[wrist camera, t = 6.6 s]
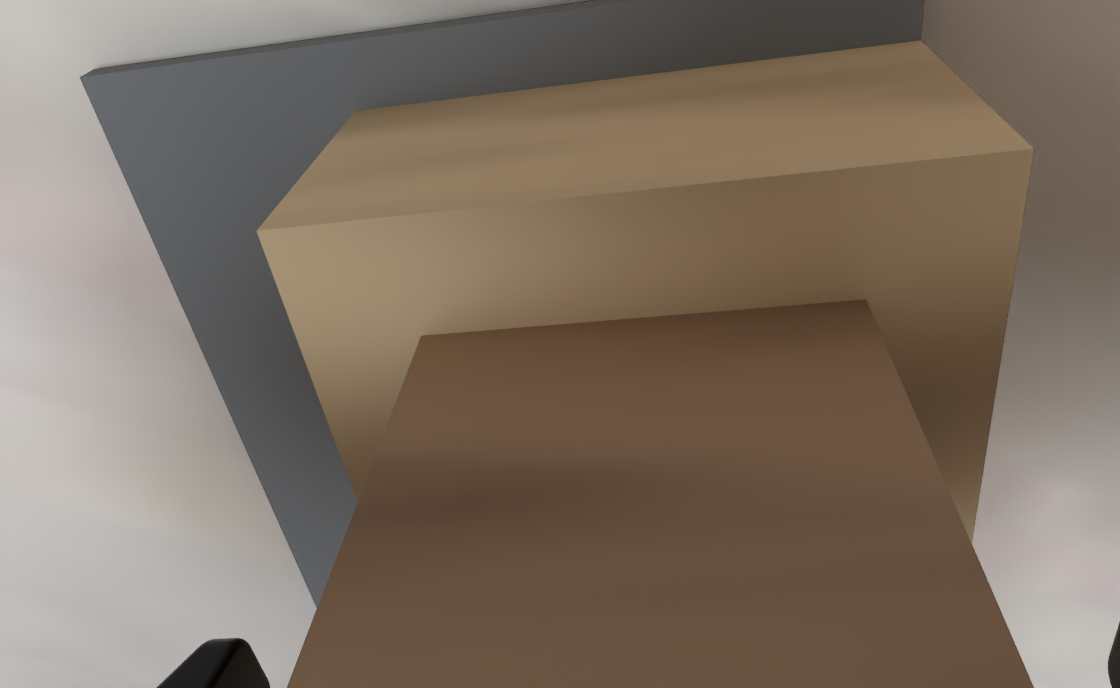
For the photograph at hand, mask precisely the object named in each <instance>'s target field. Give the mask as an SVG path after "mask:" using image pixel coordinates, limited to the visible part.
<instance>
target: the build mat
mask: <svg viewBox="0 0 1120 688" xmlns="http://www.w3.org/2000/svg"><path fill="white" fill-rule="evenodd" d="M923 7H924V0H593V1H586V2H579V3H572V4H564V5H557V6H550V7H543V8H535V9H528V10H521V11H514V12H507V13H499V14H492V15H485V16H478V17H470V18H463V19H456V20H449V21H441V22H434V23H427V24H420V25H412V26H405V27H398V28H391V29H383V30H376V31H369V32H362V33H354V34H347V35H340V36H333V37H325V38H318V39H311V40H304V41H296V42H289V43H282V44H275V45H268V46H260V47H253V48H246V49H239V50H231V51H224V52H217V53H210V54H202V55H195V56H188V57H181V58H173V59H166V60H159V61H152V62H144V63H137V64H130V65H123V66H115V67H108V68H101V69H94V70H92V71H90V72H88V73H87V74H85V75H83V76H81V77H80V79H81V81H82V83H83V86H84V88H85V90H86V92H87V95H88V97H89V99H90V101H91V104H92V106H93V108H94V110H95V112H96V115H97V117H98V119H99V121H100V124H101V126H102V128H103V130H104V133H105V135H106V137H107V139H108V142H109V144H110V146H111V148H112V151H113V153H114V155H115V157H116V160H117V162H118V164H119V166H120V168H121V171H122V173H123V175H124V177H125V180H126V182H127V184H128V186H129V189H130V191H131V193H132V195H133V198H134V200H135V202H136V204H137V207H138V209H139V211H140V213H141V215H142V218H143V220H144V222H145V224H146V227H147V229H148V231H149V233H150V236H151V238H152V240H153V242H154V245H155V247H156V249H157V251H158V254H159V256H160V258H161V260H162V262H163V265H164V267H165V269H166V271H167V274H168V276H169V278H170V280H171V283H172V285H173V287H174V289H175V292H176V294H177V296H178V298H179V301H180V303H181V305H182V307H183V309H184V312H185V314H186V316H187V318H188V321H189V323H190V325H191V327H192V330H193V332H194V334H195V336H196V339H197V341H198V343H199V345H200V348H201V350H202V352H203V354H204V356H205V359H206V361H207V363H208V365H209V368H210V370H211V372H212V374H213V377H214V379H215V381H216V383H217V386H218V388H219V390H220V392H221V395H222V397H223V399H224V401H225V403H226V406H227V408H228V410H229V412H230V415H231V417H232V419H233V421H234V424H235V426H236V428H237V430H238V433H239V435H240V437H241V439H242V442H243V444H244V446H245V448H246V451H247V453H248V455H249V457H250V459H251V462H252V464H253V466H254V468H255V471H256V473H257V475H258V477H259V480H260V482H261V484H262V486H263V489H264V491H265V493H266V495H267V498H268V500H269V502H270V504H271V506H272V509H273V511H274V513H275V515H276V518H277V520H278V522H279V524H280V527H281V529H282V531H283V533H284V536H285V538H286V540H287V542H288V545H289V547H290V549H291V551H292V553H293V556H294V558H295V560H296V562H297V565H298V567H299V569H300V571H301V574H302V576H303V578H304V580H305V583H306V585H307V587H308V589H309V592H310V594H311V596H312V598H313V600H314V603H315V605H316V607H317V608H318V605H319V602H320V600H321V597H322V594H323V592H324V589H325V587H326V584H327V581H328V579H329V576H330V573H331V571H332V568H333V566H334V563H335V560H336V558H337V555H338V552H339V550H340V547H341V545H342V542H343V539H344V537H345V534H346V531H347V529H348V526H349V524H350V521H351V518H352V516H353V513H354V510H355V508H356V505H357V500H356V497H355V495H354V492H353V489H352V487H351V484H350V481H349V479H348V476H347V473H346V470H345V468H344V465H343V462H342V460H341V457H340V454H339V452H338V449H337V446H336V444H335V441H334V438H333V436H332V433H331V430H330V427H329V425H328V422H327V419H326V417H325V414H324V411H323V409H322V406H321V403H320V401H319V398H318V395H317V392H316V390H315V387H314V384H313V382H312V379H311V376H310V374H309V371H308V368H307V366H306V363H305V360H304V358H303V355H302V352H301V349H300V347H299V344H298V341H297V339H296V336H295V333H294V331H293V328H292V325H291V323H290V320H289V317H288V314H287V312H286V309H285V306H284V304H283V301H282V298H281V296H280V293H279V290H278V288H277V285H276V282H275V280H274V277H273V274H272V271H271V269H270V266H269V263H268V261H267V258H266V255H265V253H264V250H263V247H262V245H261V242H260V239H259V236H258V234H257V230H258V228H259V227H260V226H261V225H262V224H263V222H264V221H265V220H266V219H267V218H268V216H269V215H270V214H271V213H272V211H273V210H274V209H275V208H276V207H277V205H278V204H279V203H280V202H281V201H282V199H283V198H284V197H285V196H286V194H287V193H288V192H289V191H290V190H291V188H292V187H293V186H294V185H295V184H296V182H297V181H298V180H299V179H300V177H301V176H302V175H303V174H304V173H305V171H306V170H307V169H308V168H309V167H310V165H311V164H312V163H313V162H314V160H315V159H316V158H317V157H318V156H319V154H320V153H321V152H322V151H323V150H324V148H325V147H326V146H327V145H328V144H329V142H330V141H331V140H332V139H333V137H334V136H335V135H336V134H337V133H338V131H339V130H340V129H341V128H342V127H343V125H344V124H345V123H346V122H347V120H348V119H349V118H350V117H351V116H352V114H353V113H354V112H355V111H359V110H367V109H375V108H383V107H391V106H399V105H407V104H415V103H423V102H431V101H439V100H447V99H455V98H463V97H471V96H479V95H487V94H495V93H503V92H511V91H519V90H527V89H535V88H543V87H551V86H559V85H567V84H576V83H584V82H592V81H600V80H608V79H616V78H624V77H632V76H640V75H648V74H656V73H664V72H672V71H680V70H688V69H696V68H704V67H712V66H720V65H728V64H736V63H744V62H752V61H760V60H768V59H776V58H784V57H792V56H800V55H808V54H816V53H824V52H832V51H840V50H848V49H856V48H864V47H872V46H880V45H888V44H896V43H904V42H912V41H920V40H921V32H922V20H923Z"/></svg>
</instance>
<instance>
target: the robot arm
mask: <svg viewBox="0 0 1120 688" xmlns="http://www.w3.org/2000/svg"><path fill="white" fill-rule="evenodd" d="M1108 673H1109V678H1110V683H1111V686H1112V688H1120V623H1119V626H1118V629H1117V632H1116V636H1115V639H1114V642H1113V645H1112V649H1111V652H1110V655H1109V660H1108ZM157 688H270V685H269V681H268V679H267V677H266V675H265V673H264V672H263V670H262V668H261V666H260V664H259V662H258V660H257V658H256V656H255V654H254V653H253V651H252V649H251V647H250V645H249V644H248V642H246V641H245V640H243V639H240V638H230V639H213V640H209V641H207V642H205V643H204V644H202V645H201V646H200V647H198V648H197V649H196V650H195V651H194V652H193V653H192V654H191V655H190V656H189V657H188V658H187V659H186V660H185V661H184V662H183V663H182V664H181V665H180V666H179V667H178V668H177V669H176V670H174V671H173V672H172V673H171V674H170V675H169V676H168V677H167V678H166V679H165V680H164V681H163V682H162V683H161V684H160V685H159V686H158V687H157Z"/></svg>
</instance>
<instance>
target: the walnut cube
mask: <svg viewBox="0 0 1120 688" xmlns="http://www.w3.org/2000/svg"><path fill="white" fill-rule="evenodd" d="M287 688H1034V687H1033V685H1032V682H1031V680H1030V678H1029V675H1028V673H1027V671H1026V668H1025V666H1024V664H1023V661H1022V659H1021V657H1020V655H1019V652H1018V650H1017V648H1016V645H1015V643H1014V641H1013V638H1012V636H1011V634H1010V631H1009V629H1008V627H1007V624H1006V622H1005V620H1004V618H1003V615H1002V613H1001V611H1000V608H999V606H998V604H997V601H996V599H995V597H994V594H993V592H992V590H991V587H990V585H989V583H988V581H987V578H986V576H985V574H984V571H983V569H982V567H981V564H980V562H979V560H978V557H977V555H976V553H975V550H974V548H973V546H972V544H971V541H970V539H969V537H968V534H967V532H966V530H965V527H964V525H963V523H962V520H961V518H960V516H959V513H958V511H957V509H956V507H955V504H954V502H953V500H952V497H951V495H950V493H949V490H948V488H947V486H946V483H945V481H944V479H943V476H942V474H941V472H940V470H939V467H938V465H937V463H936V460H935V458H934V456H933V453H932V451H931V449H930V446H929V444H928V442H927V439H926V437H925V435H924V433H923V430H922V428H921V426H920V423H919V421H918V419H917V416H916V414H915V412H914V409H913V407H912V405H911V402H910V400H909V398H908V396H907V393H906V391H905V389H904V386H903V384H902V382H901V379H900V377H899V375H898V372H897V370H896V368H895V365H894V363H893V361H892V359H891V356H890V354H889V352H888V349H887V347H886V345H885V342H884V340H883V338H882V335H881V333H880V331H879V328H878V326H877V324H876V322H875V319H874V317H873V315H872V312H871V310H870V308H869V305H868V303H867V301H866V299H864V300H852V301H840V302H828V303H815V304H803V305H791V306H779V307H766V308H754V309H742V310H730V311H718V312H705V313H693V314H681V315H669V316H656V317H644V318H632V319H620V320H608V321H595V322H583V323H571V324H559V325H547V326H534V327H522V328H510V329H498V330H485V331H473V332H461V333H449V334H437V335H424V336H421V337H420V340H419V343H418V345H417V348H416V350H415V353H414V356H413V358H412V361H411V364H410V366H409V369H408V371H407V374H406V377H405V379H404V382H403V385H402V387H401V390H400V392H399V395H398V398H397V400H396V403H395V405H394V408H393V411H392V413H391V416H390V419H389V421H388V424H387V426H386V429H385V432H384V434H383V437H382V440H381V442H380V445H379V447H378V450H377V453H376V455H375V458H374V461H373V463H372V466H371V468H370V471H369V474H368V476H367V479H366V482H365V484H364V487H363V489H362V492H361V495H360V497H359V500H358V503H357V505H356V508H355V510H354V513H353V516H352V518H351V521H350V524H349V526H348V529H347V531H346V534H345V537H344V539H343V542H342V545H341V547H340V550H339V552H338V555H337V558H336V560H335V563H334V566H333V568H332V571H331V573H330V576H329V579H328V581H327V584H326V587H325V589H324V592H323V594H322V597H321V600H320V602H319V605H318V608H317V610H316V613H315V615H314V618H313V621H312V623H311V626H310V629H309V631H308V634H307V636H306V639H305V642H304V644H303V647H302V650H301V652H300V655H299V657H298V660H297V663H296V665H295V668H294V671H293V673H292V676H291V678H290V681H289V684H288V686H287Z"/></svg>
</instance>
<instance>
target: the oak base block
mask: <svg viewBox="0 0 1120 688" xmlns="http://www.w3.org/2000/svg"><path fill="white" fill-rule="evenodd" d="M1033 153H1034V148H1033V147H1032V146H1031V145H1030V144H1029V143H1028V142H1027V141H1026V140H1025V139H1024V138H1023V137H1022V136H1021V135H1020V134H1018V133H1017V132H1016V131H1015V130H1014V129H1013V128H1012V127H1011V126H1010V125H1009V124H1008V123H1007V122H1006V121H1005V120H1004V119H1003V118H1002V117H1001V116H1000V115H999V114H998V113H996V112H995V111H994V110H993V109H992V108H991V107H990V106H989V105H988V104H987V103H986V102H985V101H984V100H983V99H982V98H981V97H980V96H979V95H978V94H977V93H975V92H974V91H973V90H972V89H971V88H970V87H969V86H968V85H967V84H966V83H965V82H964V81H963V80H962V79H961V78H960V77H959V76H958V75H957V74H956V73H955V72H953V71H952V70H951V69H950V68H949V67H948V66H947V65H946V64H945V63H944V62H943V61H942V60H941V59H940V58H939V57H938V56H937V55H936V54H935V53H934V52H932V51H931V50H930V49H929V48H928V47H927V46H926V45H925V44H924V43H923V42H922V41H921V40H920V41H912V42H904V43H896V44H888V45H880V46H872V47H864V48H856V49H848V50H840V51H832V52H824V53H816V54H808V55H800V56H792V57H784V58H776V59H768V60H760V61H752V62H744V63H736V64H728V65H720V66H712V67H704V68H696V69H688V70H680V71H672V72H664V73H656V74H648V75H640V76H632V77H624V78H616V79H608V80H600V81H592V82H584V83H576V84H567V85H559V86H551V87H543V88H535V89H527V90H519V91H511V92H503V93H495V94H487V95H479V96H471V97H463V98H455V99H447V100H439V101H431V102H423V103H415V104H407V105H399V106H391V107H383V108H375V109H367V110H359V111H355V112H354V113H353V114H352V116H351V117H350V118H349V119H348V120H347V122H346V123H345V124H344V125H343V127H342V128H341V129H340V130H339V131H338V133H337V134H336V135H335V136H334V137H333V139H332V140H331V141H330V142H329V144H328V145H327V146H326V147H325V148H324V150H323V151H322V152H321V153H320V154H319V156H318V157H317V158H316V159H315V160H314V162H313V163H312V164H311V165H310V167H309V168H308V169H307V170H306V171H305V173H304V174H303V175H302V176H301V177H300V179H299V180H298V181H297V182H296V184H295V185H294V186H293V187H292V188H291V190H290V191H289V192H288V193H287V194H286V196H285V197H284V198H283V199H282V201H281V202H280V203H279V204H278V205H277V207H276V208H275V209H274V210H273V211H272V213H271V214H270V215H269V216H268V218H267V219H266V220H265V221H264V222H263V224H262V225H261V226H260V227H259V228H258V230H257V234H258V236H259V239H260V242H261V245H262V247H263V250H264V253H265V255H266V258H267V261H268V263H269V266H270V269H271V271H272V274H273V277H274V280H275V282H276V285H277V288H278V290H279V293H280V296H281V298H282V301H283V304H284V306H285V309H286V312H287V314H288V317H289V320H290V323H291V325H292V328H293V331H294V333H295V336H296V339H297V341H298V344H299V347H300V349H301V352H302V355H303V358H304V360H305V363H306V366H307V368H308V371H309V374H310V376H311V379H312V382H313V384H314V387H315V390H316V392H317V395H318V398H319V401H320V403H321V406H322V409H323V411H324V414H325V417H326V419H327V422H328V425H329V427H330V430H331V433H332V436H333V438H334V441H335V444H336V446H337V449H338V452H339V454H340V457H341V460H342V462H343V465H344V468H345V470H346V473H347V476H348V479H349V481H350V484H351V487H352V489H353V492H354V495H355V497H356V500H357V503H358V500H359V497H360V495H361V492H362V489H363V487H364V484H365V482H366V479H367V476H368V474H369V471H370V468H371V466H372V463H373V461H374V458H375V455H376V453H377V450H378V447H379V445H380V442H381V440H382V437H383V434H384V432H385V429H386V426H387V424H388V421H389V419H390V416H391V413H392V411H393V408H394V405H395V403H396V400H397V398H398V395H399V392H400V390H401V387H402V385H403V382H404V379H405V377H406V374H407V371H408V369H409V366H410V364H411V361H412V358H413V356H414V353H415V350H416V348H417V345H418V343H419V340H420V337H421V336H424V335H437V334H449V333H461V332H473V331H485V330H498V329H510V328H522V327H534V326H547V325H559V324H571V323H583V322H595V321H608V320H620V319H632V318H644V317H656V316H669V315H681V314H693V313H705V312H718V311H730V310H742V309H754V308H766V307H779V306H791V305H803V304H815V303H828V302H840V301H852V300H864V299H866V301H867V303H868V305H869V308H870V310H871V312H872V315H873V317H874V319H875V322H876V324H877V326H878V328H879V331H880V333H881V335H882V338H883V340H884V342H885V345H886V347H887V349H888V352H889V354H890V356H891V359H892V361H893V363H894V365H895V368H896V370H897V372H898V375H899V377H900V379H901V382H902V384H903V386H904V389H905V391H906V393H907V396H908V398H909V400H910V402H911V405H912V407H913V409H914V412H915V414H916V416H917V419H918V421H919V423H920V426H921V428H922V430H923V433H924V435H925V437H926V439H927V442H928V444H929V446H930V449H931V451H932V453H933V456H934V458H935V460H936V463H937V465H938V467H939V470H940V472H941V474H942V476H943V479H944V481H945V483H946V486H947V488H948V490H949V493H950V495H951V497H952V500H953V502H954V504H955V507H956V509H957V511H958V513H959V516H960V518H961V520H962V523H963V525H964V527H965V530H966V532H967V534H968V537H969V539H970V541H971V544H972V538H973V532H974V525H975V519H976V513H977V506H978V500H979V494H980V487H981V481H982V475H983V468H984V462H985V456H986V450H987V443H988V437H989V431H990V424H991V418H992V412H993V405H994V399H995V393H996V387H997V380H998V374H999V368H1000V361H1001V355H1002V349H1003V342H1004V336H1005V330H1006V324H1007V317H1008V311H1009V305H1010V298H1011V292H1012V286H1013V279H1014V273H1015V267H1016V261H1017V254H1018V248H1019V242H1020V235H1021V229H1022V223H1023V216H1024V210H1025V204H1026V197H1027V191H1028V185H1029V179H1030V172H1031V166H1032V160H1033Z"/></svg>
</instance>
